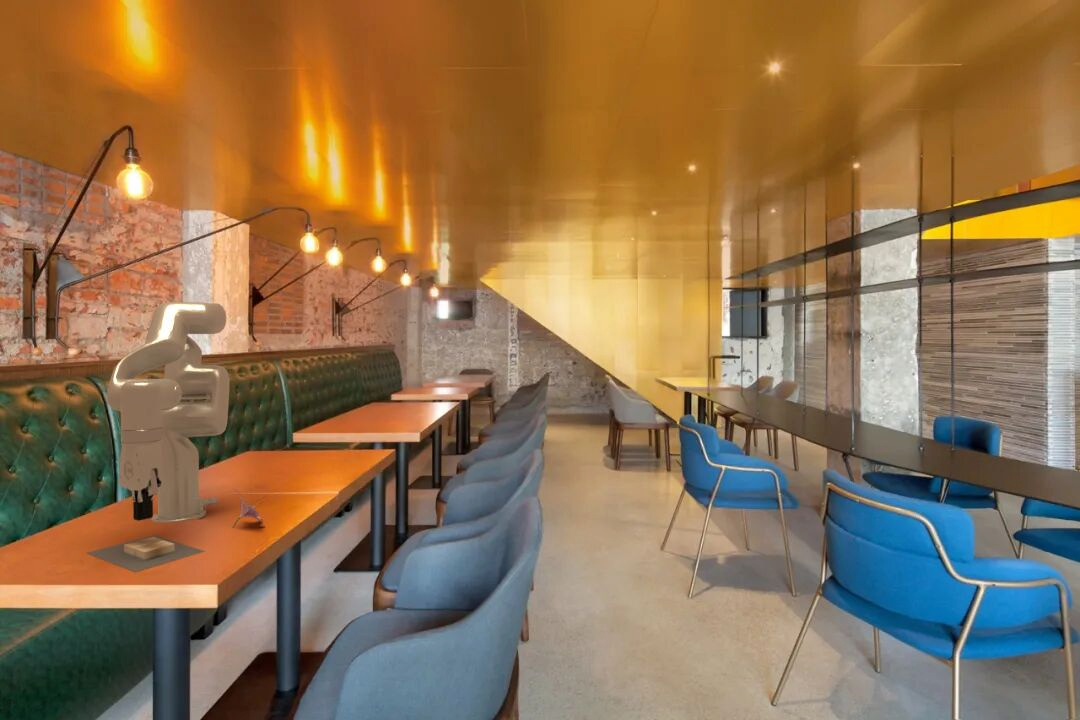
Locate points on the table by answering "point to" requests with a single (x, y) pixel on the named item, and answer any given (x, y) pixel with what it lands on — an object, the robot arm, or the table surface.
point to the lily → (248, 511)
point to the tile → (149, 549)
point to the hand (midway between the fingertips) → (143, 518)
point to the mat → (133, 564)
